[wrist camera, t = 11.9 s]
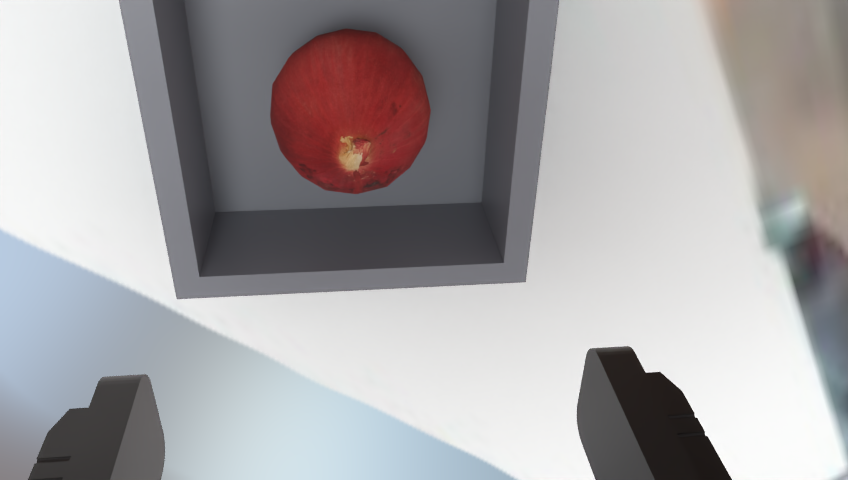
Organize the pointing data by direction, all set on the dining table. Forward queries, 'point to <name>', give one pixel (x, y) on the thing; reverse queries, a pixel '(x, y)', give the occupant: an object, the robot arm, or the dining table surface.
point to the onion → (350, 111)
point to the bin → (327, 210)
